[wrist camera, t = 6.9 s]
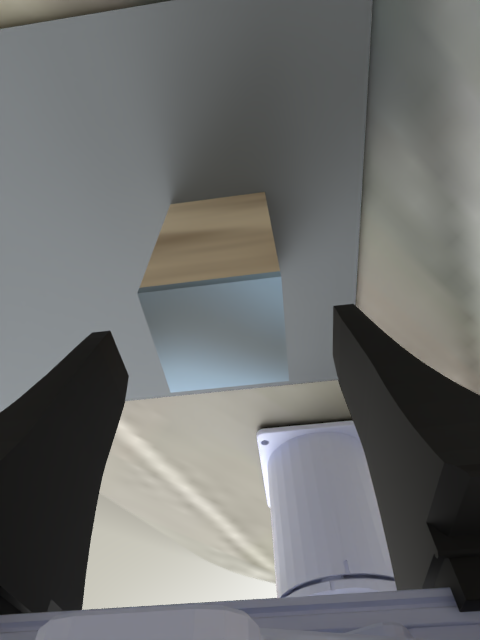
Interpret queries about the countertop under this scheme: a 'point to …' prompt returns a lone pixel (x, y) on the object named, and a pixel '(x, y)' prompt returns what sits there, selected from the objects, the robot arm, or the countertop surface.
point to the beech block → (216, 295)
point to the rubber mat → (175, 167)
